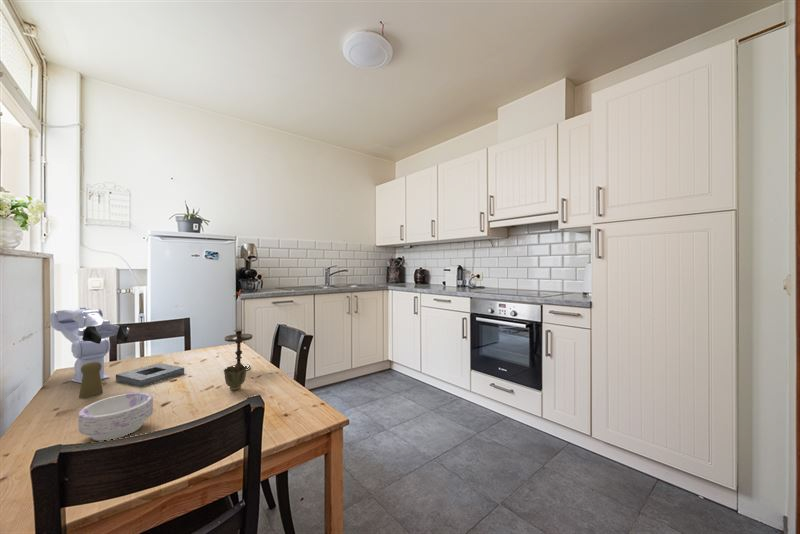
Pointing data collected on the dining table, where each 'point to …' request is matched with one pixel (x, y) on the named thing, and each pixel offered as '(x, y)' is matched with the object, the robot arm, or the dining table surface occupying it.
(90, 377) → the olive tapered cylinder
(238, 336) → the candlestick
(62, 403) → the dining table surface
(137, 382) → the plate
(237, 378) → the cup
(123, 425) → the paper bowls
